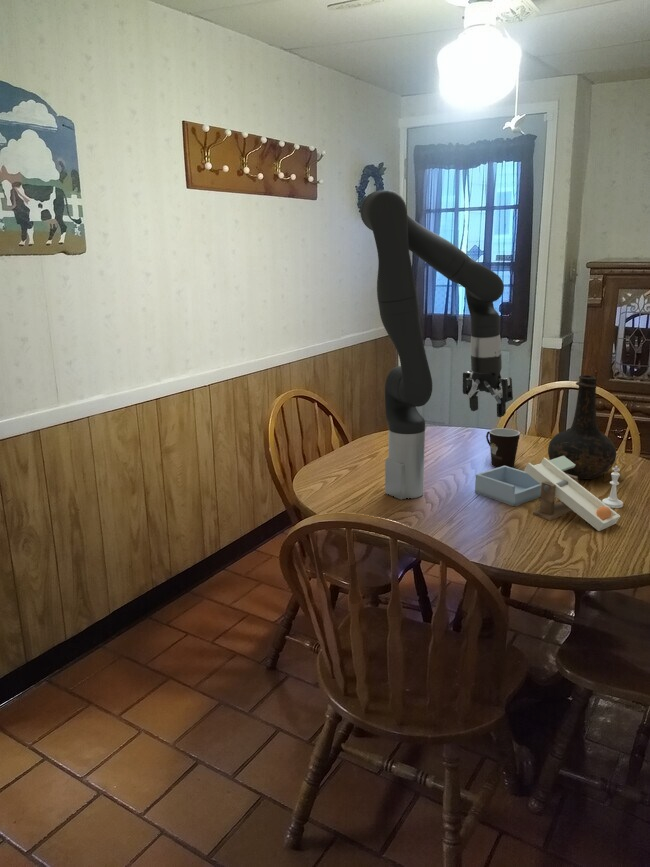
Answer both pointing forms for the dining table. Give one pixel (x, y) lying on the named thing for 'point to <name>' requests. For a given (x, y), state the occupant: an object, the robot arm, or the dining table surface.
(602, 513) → the ball
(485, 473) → the bin
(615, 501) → the chess piece
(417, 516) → the dining table surface
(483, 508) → the dining table surface
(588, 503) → the lever
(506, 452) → the coffee mug
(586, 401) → the glass bottle
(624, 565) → the dining table surface
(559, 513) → the stand
